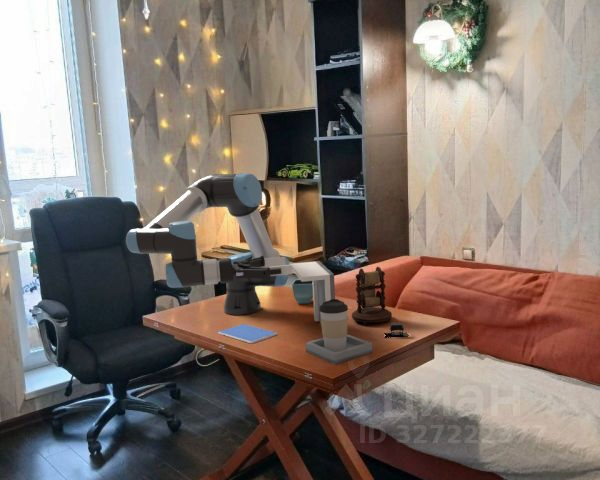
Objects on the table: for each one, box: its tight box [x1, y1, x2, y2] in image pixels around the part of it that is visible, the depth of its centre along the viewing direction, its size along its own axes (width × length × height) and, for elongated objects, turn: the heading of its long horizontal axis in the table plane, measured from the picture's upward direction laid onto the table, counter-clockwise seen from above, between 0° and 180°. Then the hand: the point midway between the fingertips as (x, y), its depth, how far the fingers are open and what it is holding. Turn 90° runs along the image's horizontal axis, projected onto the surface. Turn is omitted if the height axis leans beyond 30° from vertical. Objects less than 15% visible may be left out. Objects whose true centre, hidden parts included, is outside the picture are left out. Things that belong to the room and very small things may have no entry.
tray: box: [305, 333, 373, 365], centre depth 186 cm, size 15×15×3 cm
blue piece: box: [217, 323, 278, 344], centre depth 209 cm, size 19×13×1 cm, turn 45°
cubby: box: [289, 260, 336, 324], centre depth 208 cm, size 24×11×22 cm, turn 10°
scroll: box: [351, 266, 393, 326], centre depth 216 cm, size 15×15×20 cm
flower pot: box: [291, 279, 313, 305], centre depth 247 cm, size 9×9×9 cm
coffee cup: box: [319, 298, 349, 351], centre depth 187 cm, size 9×9×15 cm
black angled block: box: [384, 322, 409, 339], centre depth 199 cm, size 12×7×5 cm, turn 85°
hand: (288, 264), depth 180 cm, fingers open, 13 cm apart
